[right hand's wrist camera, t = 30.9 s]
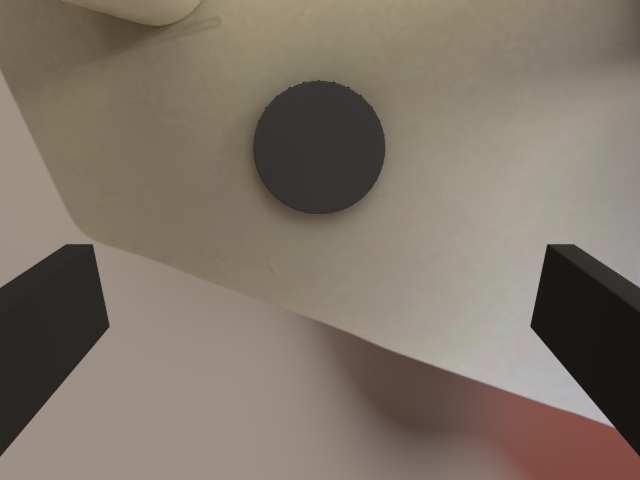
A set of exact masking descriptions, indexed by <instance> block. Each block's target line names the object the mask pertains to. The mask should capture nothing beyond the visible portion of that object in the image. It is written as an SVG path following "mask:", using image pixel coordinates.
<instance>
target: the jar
mask: <svg viewBox="0 0 640 480" xmlns="http://www.w3.org/2000/svg"><path fill="white" fill-rule="evenodd" d="M61 1H64V2H67V3H71V4H74V5H78V6H81V7H85V8H88V9H91V10H95V11H98V12H102V13H105V14H108V15H112V16H115V17H119V18H122V19H125V20H129V21H132V22H136V23H139V24H143V25H150V26H163V25H168V24H172V23H174V22H177V21H179V20H181V19H183V18H185V17H186V16H187V15H189V14H190V13H191V12H192V11H193V10H194V9H195V8H196V7H197V6H198V5H199V3H200V2H201V0H61Z"/></svg>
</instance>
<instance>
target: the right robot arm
mask: <svg viewBox="0 0 640 480" xmlns="http://www.w3.org/2000/svg"><path fill="white" fill-rule="evenodd" d="M109 327H110V326H109V321H108V316H107V311H106V306H105V302H104V297H103V292H102V287H101V282H100V278H99V273H98V268H97V263H96V258H95V253H94V249H93V245H92V244H66V245H65V246H63V247H61V248H60V249H58V250H57V251H55V252H54V253H52V254H51V255H49V256H48V257H46V258H45V259H43V260H42V261H40V262H39V263H37V264H36V265H34V266H33V267H31V268H30V269H28V270H27V271H25V272H24V273H22V274H21V275H19V276H18V277H16V278H15V279H13V280H12V281H10V282H9V283H7V284H6V285H4V286H2V287H1V288H0V456H1V455H2V454H3V453H4V452H5V450H6V449H7V448H8V447H9V446H10V444H11V443H12V442H13V441H14V440H15V438H16V437H17V436H18V435H19V434H20V432H21V431H22V430H23V429H24V428H25V427H26V425H27V424H28V423H29V422H30V421H31V419H32V418H33V417H34V416H35V415H36V414H37V412H38V411H39V410H40V409H41V408H42V406H43V405H44V404H45V403H46V402H47V400H48V399H49V398H50V397H51V396H52V394H53V393H54V392H55V391H56V390H57V389H58V387H59V386H60V385H61V384H62V383H63V381H64V380H65V379H66V378H67V377H68V375H69V374H70V373H71V372H72V371H73V370H74V368H75V367H76V366H77V365H78V364H79V362H80V361H81V360H82V359H83V358H84V356H85V355H86V354H87V353H88V352H89V350H90V349H91V348H92V347H93V346H94V345H95V343H96V342H97V341H98V340H99V339H100V337H101V336H102V335H103V334H104V333H105V331H106V330H107V329H108V328H109ZM530 327H531V328H532V329H533V330H534V331H535V333H536V334H537V335H538V336H539V337H540V339H541V340H542V341H543V342H544V343H545V345H546V346H547V347H548V348H549V349H550V351H551V352H552V353H553V354H554V355H555V356H556V358H557V359H558V360H559V361H560V362H561V364H562V365H563V366H564V367H565V368H566V370H567V371H568V372H569V373H570V374H571V375H572V377H573V378H574V379H575V380H576V381H577V383H578V384H579V385H580V386H581V387H582V389H583V390H584V391H585V392H586V393H587V394H588V396H589V397H590V398H591V399H592V400H593V402H594V403H595V404H596V405H597V406H598V408H599V409H600V410H601V411H602V412H603V414H604V415H605V416H606V417H607V418H608V419H609V421H610V422H611V423H612V424H613V425H614V427H615V428H616V429H617V430H618V431H619V433H620V434H621V435H622V436H623V437H624V438H625V440H626V441H627V442H628V443H629V444H630V446H631V447H632V448H633V449H634V450H635V452H636V453H637V454H638V455H639V456H640V288H639V287H638V286H636V285H634V284H633V283H631V282H630V281H628V280H627V279H625V278H624V277H622V276H621V275H619V274H618V273H616V272H615V271H613V270H612V269H610V268H609V267H607V266H606V265H604V264H603V263H601V262H600V261H598V260H597V259H595V258H594V257H592V256H591V255H589V254H588V253H586V252H585V251H583V250H582V249H580V248H579V247H577V246H576V245H574V244H547V248H546V253H545V258H544V263H543V268H542V273H541V277H540V282H539V287H538V292H537V297H536V302H535V306H534V311H533V316H532V321H531V326H530Z"/></svg>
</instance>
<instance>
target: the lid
mask: <svg viewBox="0 0 640 480" xmlns="http://www.w3.org/2000/svg"><path fill="white" fill-rule="evenodd" d="M372 108H373V107H372V106H370V105H369V104H368V103H367V102H366V100H365V99H363V98H362V96H361V95H359V94H357V93H356V92H354V91H353V90H351V89H349V87H345V86H342V85H340V84H336V83H335V82H326V81H320V80H318V81H313V82H306V83H305V82H303V83H302V84H299V85H296V86H294V87H292V88H291V87H289V89H288V90H286V91H284V92H283V93H281V94H280V95H279V96H276V98H275V99H274V100H273V101H272V102H271V103H270V104H269V106H268V107H266V108H265V109H266V110H265V111H264V113H263V114H262V116H261V118H260V120H259V121H258V122H259V123H258V125H257V128H256V132H255V135H254V150H253V151H254V158H255V163H256V167H257V170H258V173H259V175H260V177H261V179H262V181H263V182H264V184H265V186H266V187H267V188H268V189H269V191H270V192H271V193H272V194H273V195H274V196H275V197H276V198H277V199H278V200H280V201H281V202H283V203H284V204H286V205H287V206H289V207H291V208H293V209H296V210H298V211H302V212H306V213H312V214H326V213H333V212H337V211H340V210H343V209H345V208H348V207H349V206H351V205H353V204H355V203H356V202H358V201H359V200H360V199H361V198H363V197H364V196H365V195H366V194H367V193H368V192H369V190H370V189H371V188H372V187H373V185H374V183H375V182H376V180H377V178H378V176H379V174H380V172H381V169H382V166H383V161H384V156H385V139H384V134H383V129H382V126H381V124H380V120H379V119H378V117H377V115H376V113H375V112H374V110H373V109H372Z"/></svg>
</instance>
